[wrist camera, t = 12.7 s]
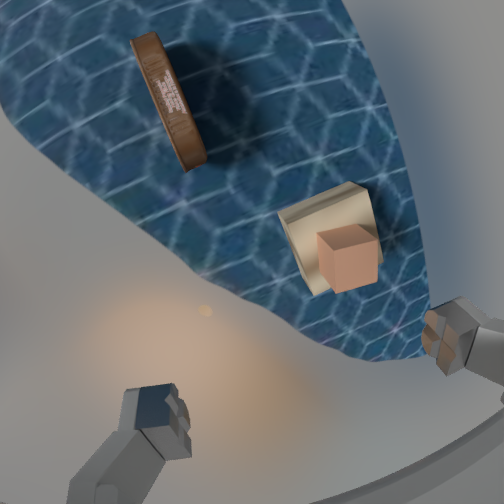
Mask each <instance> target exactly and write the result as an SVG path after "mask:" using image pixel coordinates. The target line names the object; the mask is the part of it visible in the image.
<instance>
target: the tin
mask: <svg viewBox="0 0 504 504" xmlns="http://www.w3.org/2000/svg"><path fill="white" fill-rule="evenodd" d="M130 43H131V46H132V49H133V52H134V54H135V56H136V59H137V62H138V64H139V67H140V69H141V72H142V74H143V77H144V79H145V82H146V84H147V87H148V89H149V91H150V94H151V96H152V98H153V101H154V103H155V106H156V108H157V110H158V113H159V115H160V118H161V120H162V122H163V125H164V127H165V130H166V132H167V134H168V137H169V139H170V141H171V144H172V146H173V148H174V150H175V152H176V155H177V157H178V159H179V161H180V163H181V165H182V168H183V169H184V171H185V173H187V172H188V171H189V170H191V169H193V168H196V167H198V166H200V165H202V164H204V163H206V161H207V153H206V150H205V147H204V144H203V141H202V139H201V136H200V133H199V131H198V128H197V126H196V123H195V121H194V118H193V116H192V113H191V111H190V108H189V106H188V103H187V101H186V98H185V96H184V93H183V91H182V89H181V86H180V84H179V81H178V79H177V77H176V74H175V72H174V70H173V67H172V65H171V63H170V60H169V58H168V56H167V53H166V51H165V49H164V47H163V44H162V42H161V40H160V38H159V36H158V35H157V34H156V32H149V33H147V34H144V35H142V36H140V37H137V38H135V39H130Z"/></svg>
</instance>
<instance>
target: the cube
mask: <svg viewBox="0 0 504 504" xmlns="http://www.w3.org/2000/svg"><path fill="white" fill-rule="evenodd" d="M316 236H317V246H318V257H319V269H320V273H321V274H322V276H323V277H324V278H325V280H326V281H327V282H328V284H329V285H330V286H331V288H332V289H333V290H334V292H335V293H340V292H343V291H347V290H350V289H354V288H357V287H361V286H364V285H367V284H371V283H374V282H377V272H378V239H376V238H375V237H374V236H372V235H371V234H370V233H368V232H367V231H366V230H364V229H363V228H362V227H360V226H359V225H357V224H352V225H348V226H344V227H339V228H335V229H330V230H326V231H322V232H317V233H316Z"/></svg>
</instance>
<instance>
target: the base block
mask: <svg viewBox="0 0 504 504" xmlns="http://www.w3.org/2000/svg"><path fill="white" fill-rule="evenodd" d="M277 213H278V215H279V218H280V220H281V223H282V225H283V228H284V231H285V233H286V236H287V238H288V241H289V243H290V246H291V249H292V251H293V254H294V256H295V259H296V262H297V264H298V267H299V269H300V272H301V275H302V277H303V279H304V281H305V282H306V284H307V285H308V287H309V289H310V290H311V292H312V293H313V295H314V296H315V295H317V294H319V293H321V292H323V291H326V290H328V289H330V288H331V286H330V285H329V284H328V282H327V281H326V280H325V278H324V277H323V276H322V274H321V273H320V269H319V257H318V246H317V236H316V233H317V232H322V231H326V230H330V229H335V228H339V227H344V226H348V225H352V224H357V225H359V226H360V227H362V228H363V229H364V230H366V231H367V232H368V233H370V234H371V235H372V236H374V237H375V238H376V239H378V264H380V263H382V262H384V261H383V256H382V251H381V246H380V241H379V236H378V232H377V227H376V223H375V219H374V214H373V210H372V206H371V202H370V198H369V194H368V191H367V189H365V188H363V187H361V186H359V185H357V184H354V183H352V182H350V181H348V182H346V183H344V184H341V185H339V186H337V187H334V188H332V189H330V190H327V191H325V192H323V193H320V194H318V195H316V196H313V197H311V198H309V199H306V200H304V201H302V202H299V203H297V204H295V205H292V206H290V207H288V208H286V209H283V210H281V211H279V212H277Z"/></svg>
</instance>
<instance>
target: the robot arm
mask: <svg viewBox="0 0 504 504" xmlns="http://www.w3.org/2000/svg"><path fill="white" fill-rule="evenodd" d="M424 321H425V322H426V323H427V325H426V326H425V328H424V329H423V331H422V337H421V339H422V344H423V347H424V349H425V351H426V352H427V354H428V355H429V356H431V357H434V358H436V364H437V366H438V367H439V368H440V369H441V370H442V372H443V373H444V374H445V375H446V376H448V375H451V374H453V373H454V372H456V371H458V370H460V369H462V368H464V367H465V368H466V369H468V370H470V371H472V372H474V373H476V374H479V375H481V376H483V377H485V378H487V379H489V380H491V381H493V382H496V383H498V384H500V385H502V386H504V320H500V319H497V318H493V319H490V318H489V317H488V316H487V315H486V314H485V313H483V312H482V311H481V310H480V309H479V308H477V307H476V306H475V305H474V304H473V303H471V302H470V301H469V300H468V299H467V298H465V297H463V296H459V297H457V298H455V299H453V300H451V301H449V302H446V303H444V304H441V305H439V306H437V307H434V308H432V309H430V310H428V311H427V312H426V314H425V319H424ZM501 402H502V403H503V404H504V392H503V394H502V396H501ZM189 429H190V418H189V413H188V409H187V407H186V404H185V402H184V400H182V399H180V398H178V389H177V388H176V386H175V384H172V383H170V384H163V385H155V386H147V387H141V388H132V389H126V391H125V392H124V395H123V401H122V406H121V413H120V419H119V425H118V431H114V432H113V433H112V434H111V435H110V436H109V437H108V438H107V439H106V441H105V442H104V443H103V444H102V445H101V446H100V447H99V449H98V450H97V451H96V452H95V453H94V454H93V455H92V457H91V458H90V459H89V460H88V461H87V462H86V463H85V465H84V466H83V467H82V468H81V469H80V470H79V471H78V473H77V474H76V475H75V476H74V477H73V478H72V479H71V481H70V484H69V490H68V496H67V503H66V504H142V502H143V501H144V499H145V497H146V496H147V494H148V492H149V490H150V489H151V487H152V485H153V484H154V482H155V480H156V478H157V477H158V475H159V473H160V472H161V470H162V468H163V466H164V465H165V463H166V462H165V461H168V460H176V459H183V458H190V457H192V450H191V439H190V437H189V436H188V434H187V432H188V431H189ZM0 504H6V503H3V502H0ZM310 504H504V408H503V409H501V410H500V411H498V412H497V413H496V414H494V415H493V416H491V417H490V418H489V419H487V420H486V421H484V422H483V423H481V424H480V425H479V426H477V427H476V428H474V429H473V430H471V431H470V432H468V433H466V434H465V435H463V436H462V437H460V438H458V439H457V440H455V441H453V442H452V443H450V444H448V445H447V446H445V447H443V448H442V449H440V450H438V451H436V452H434V453H433V454H431V455H429V456H427V457H425V458H423V459H421V460H420V461H417V462H415V463H413V464H411V465H409V466H407V467H405V468H403V469H401V470H399V471H397V472H395V473H392V474H390V475H388V476H386V477H384V478H381V479H379V480H376V481H374V482H371V483H369V484H366V485H364V486H361V487H358V488H356V489H353V490H350V491H347V492H345V493H342V494H339V495H336V496H333V497H330V498H327V499H323V500H320V501H317V502H313V503H310Z"/></svg>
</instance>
